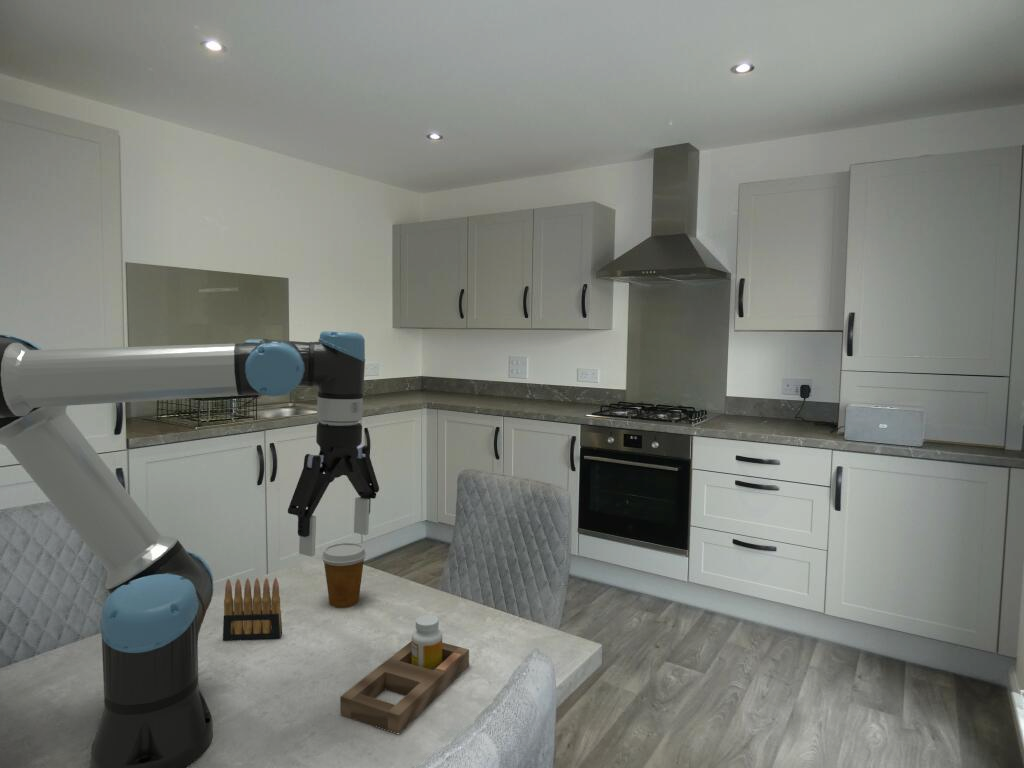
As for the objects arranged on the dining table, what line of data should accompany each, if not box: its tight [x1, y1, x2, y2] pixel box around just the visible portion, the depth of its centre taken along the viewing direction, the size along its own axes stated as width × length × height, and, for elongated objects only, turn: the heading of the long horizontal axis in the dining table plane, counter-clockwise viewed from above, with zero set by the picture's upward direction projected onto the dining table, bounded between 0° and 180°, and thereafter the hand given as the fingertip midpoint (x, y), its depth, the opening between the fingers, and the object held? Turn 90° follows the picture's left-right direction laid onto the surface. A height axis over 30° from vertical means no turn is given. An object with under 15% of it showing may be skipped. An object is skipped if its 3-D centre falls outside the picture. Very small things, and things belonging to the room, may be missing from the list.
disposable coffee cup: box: [321, 542, 367, 609], centre depth 139 cm, size 10×10×12 cm
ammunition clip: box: [222, 577, 283, 642], centre depth 122 cm, size 11×2×12 cm, turn 97°
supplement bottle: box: [411, 614, 443, 670], centre depth 111 cm, size 5×5×10 cm
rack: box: [339, 640, 470, 734], centre depth 106 cm, size 22×11×3 cm, turn 155°
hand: (335, 543), depth 109 cm, fingers open, 13 cm apart
